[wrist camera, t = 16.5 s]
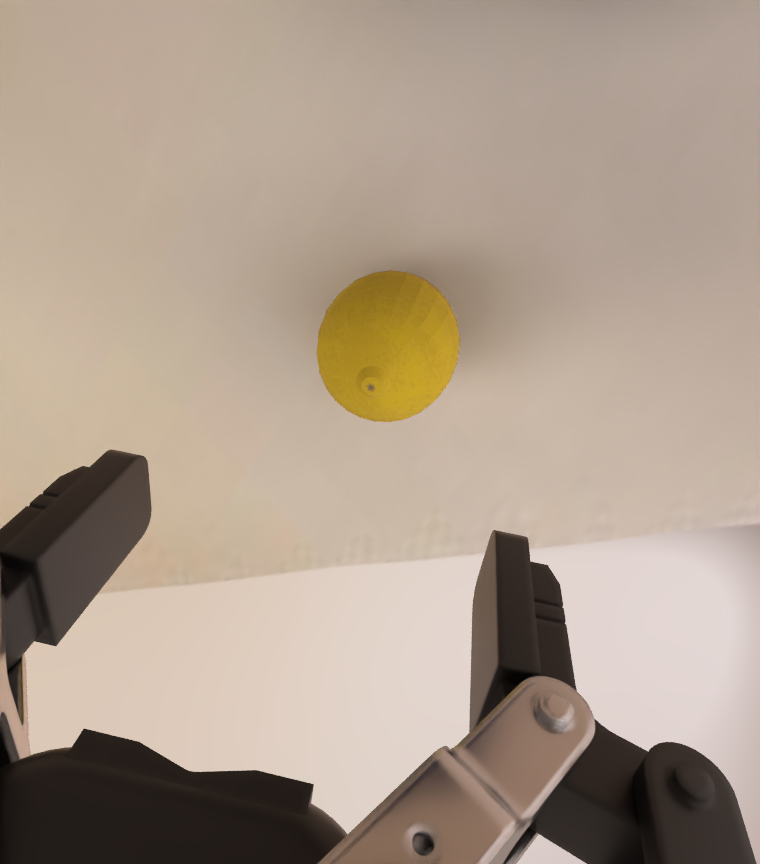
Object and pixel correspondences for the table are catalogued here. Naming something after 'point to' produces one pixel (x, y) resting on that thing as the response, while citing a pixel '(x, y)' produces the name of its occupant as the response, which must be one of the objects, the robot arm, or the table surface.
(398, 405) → the lemon
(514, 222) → the table surface
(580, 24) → the table surface
